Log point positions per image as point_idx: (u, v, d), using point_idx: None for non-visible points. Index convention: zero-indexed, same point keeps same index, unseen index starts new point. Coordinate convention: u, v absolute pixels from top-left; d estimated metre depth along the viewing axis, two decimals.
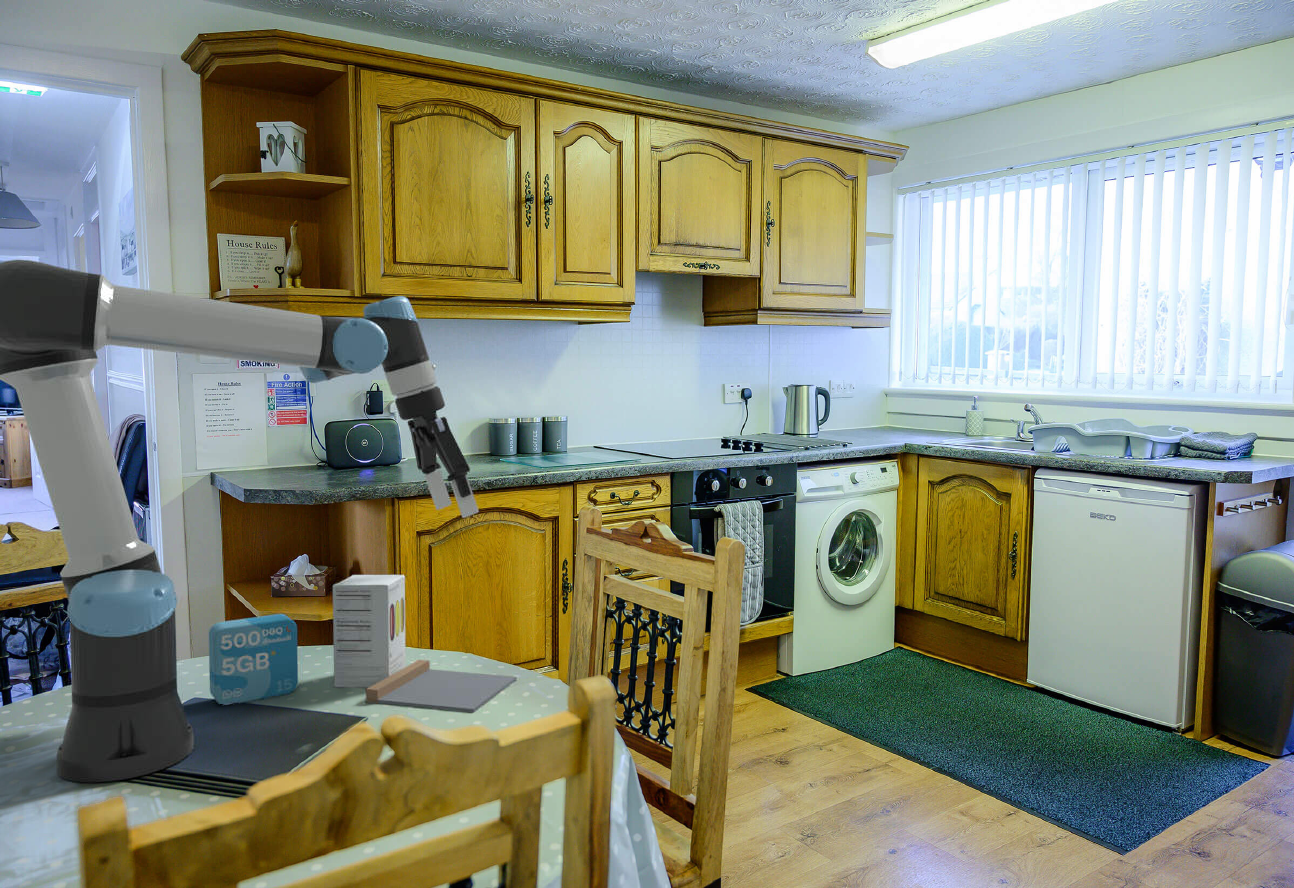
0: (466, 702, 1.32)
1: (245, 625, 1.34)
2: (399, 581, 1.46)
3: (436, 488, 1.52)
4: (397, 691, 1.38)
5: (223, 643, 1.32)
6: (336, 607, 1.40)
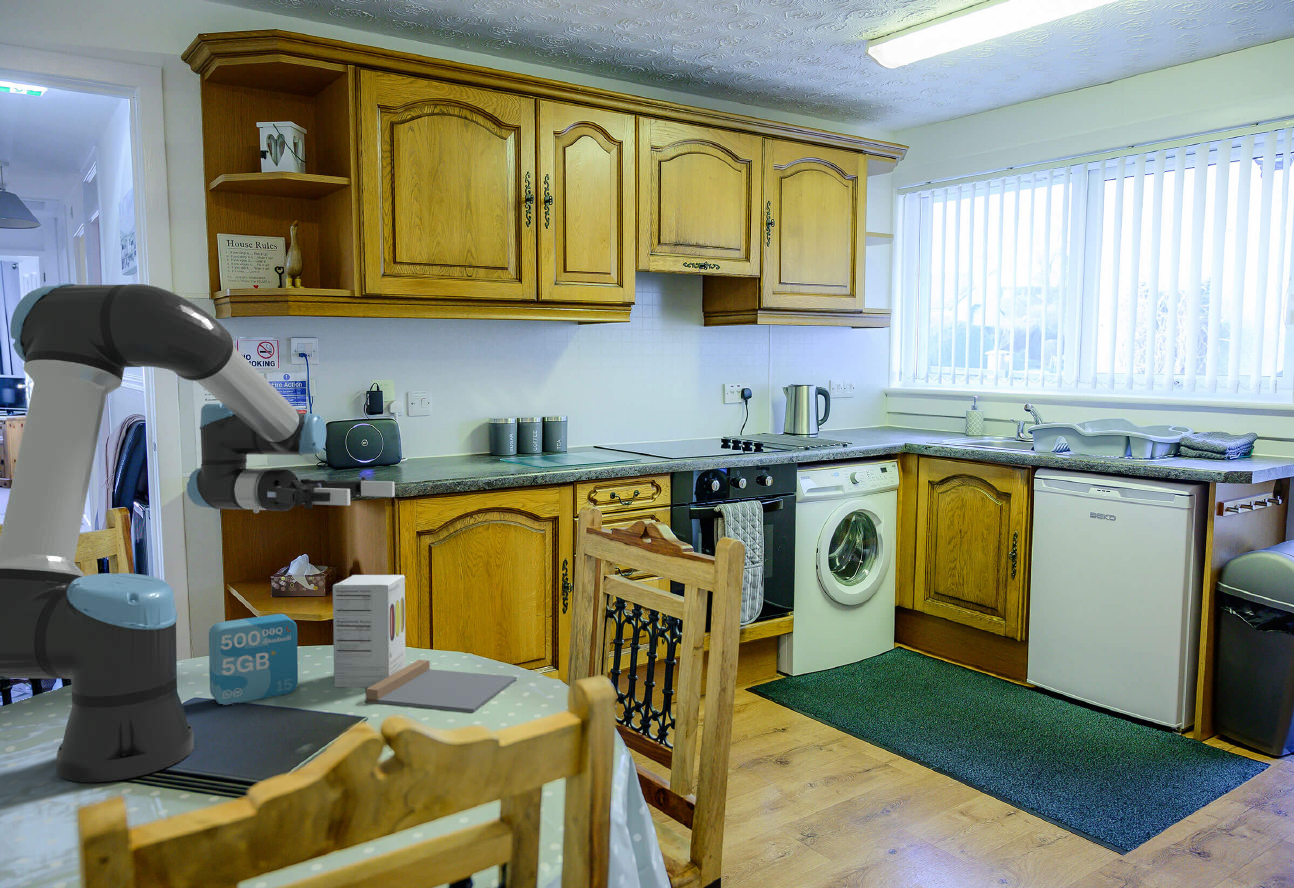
0: (466, 702, 1.32)
1: (245, 625, 1.34)
2: (399, 581, 1.46)
3: None
4: (397, 691, 1.38)
5: (223, 643, 1.32)
6: (336, 607, 1.40)
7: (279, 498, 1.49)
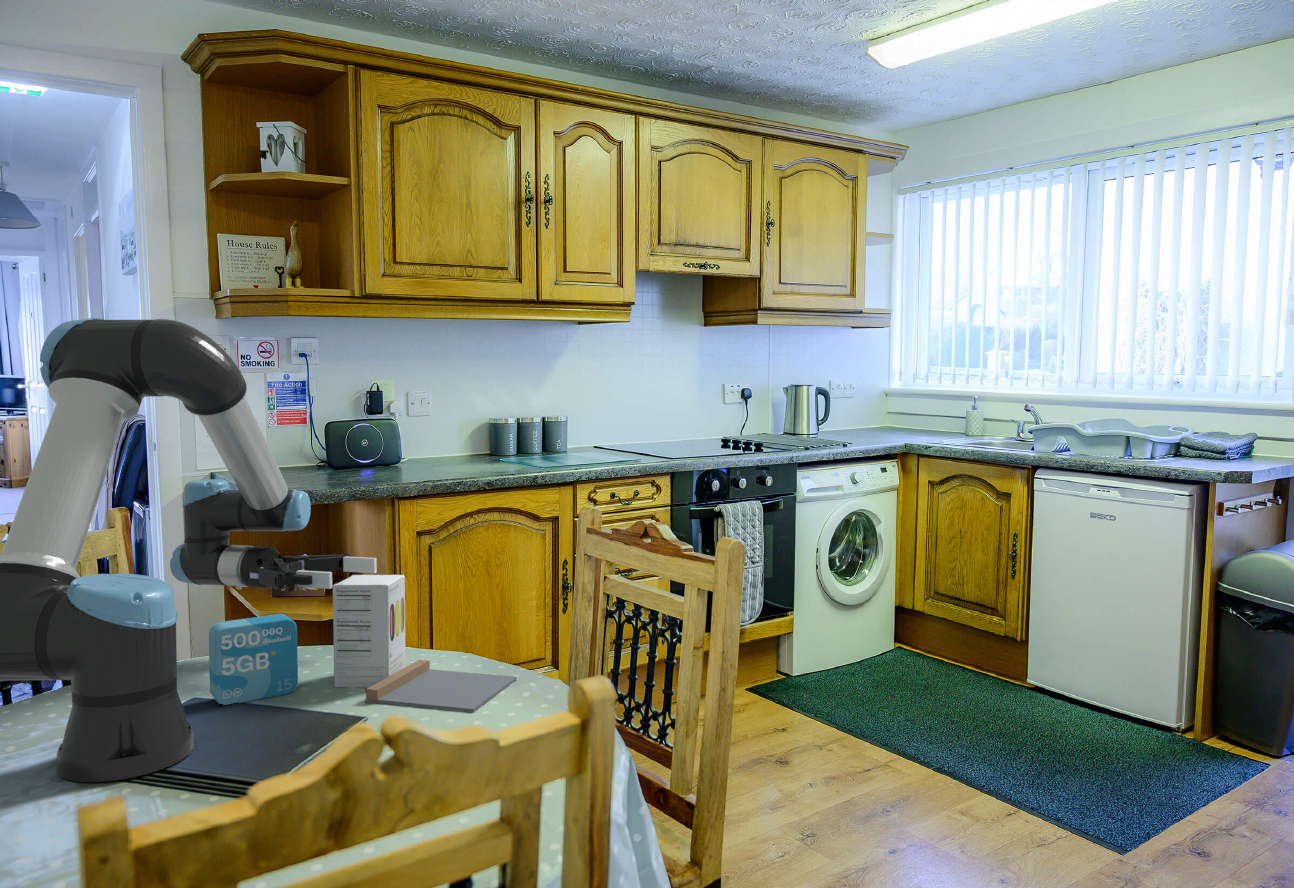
0: (466, 702, 1.32)
1: (245, 625, 1.34)
2: (399, 581, 1.46)
3: None
4: (397, 691, 1.38)
5: (223, 643, 1.32)
6: (336, 607, 1.40)
7: (262, 579, 1.50)
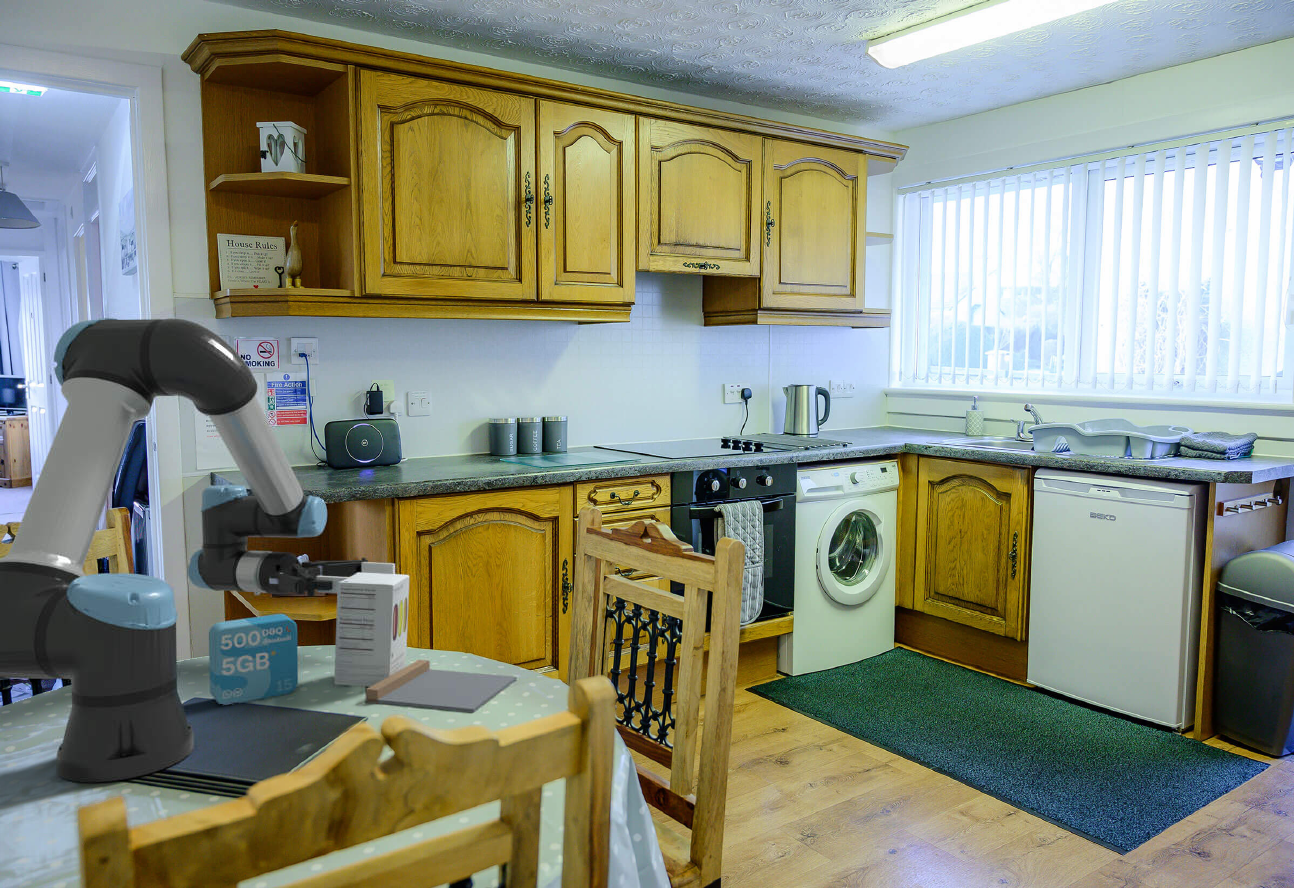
0: (466, 702, 1.32)
1: (245, 625, 1.34)
2: (403, 581, 1.46)
3: None
4: (397, 691, 1.38)
5: (223, 643, 1.32)
6: (340, 604, 1.40)
7: (282, 585, 1.50)
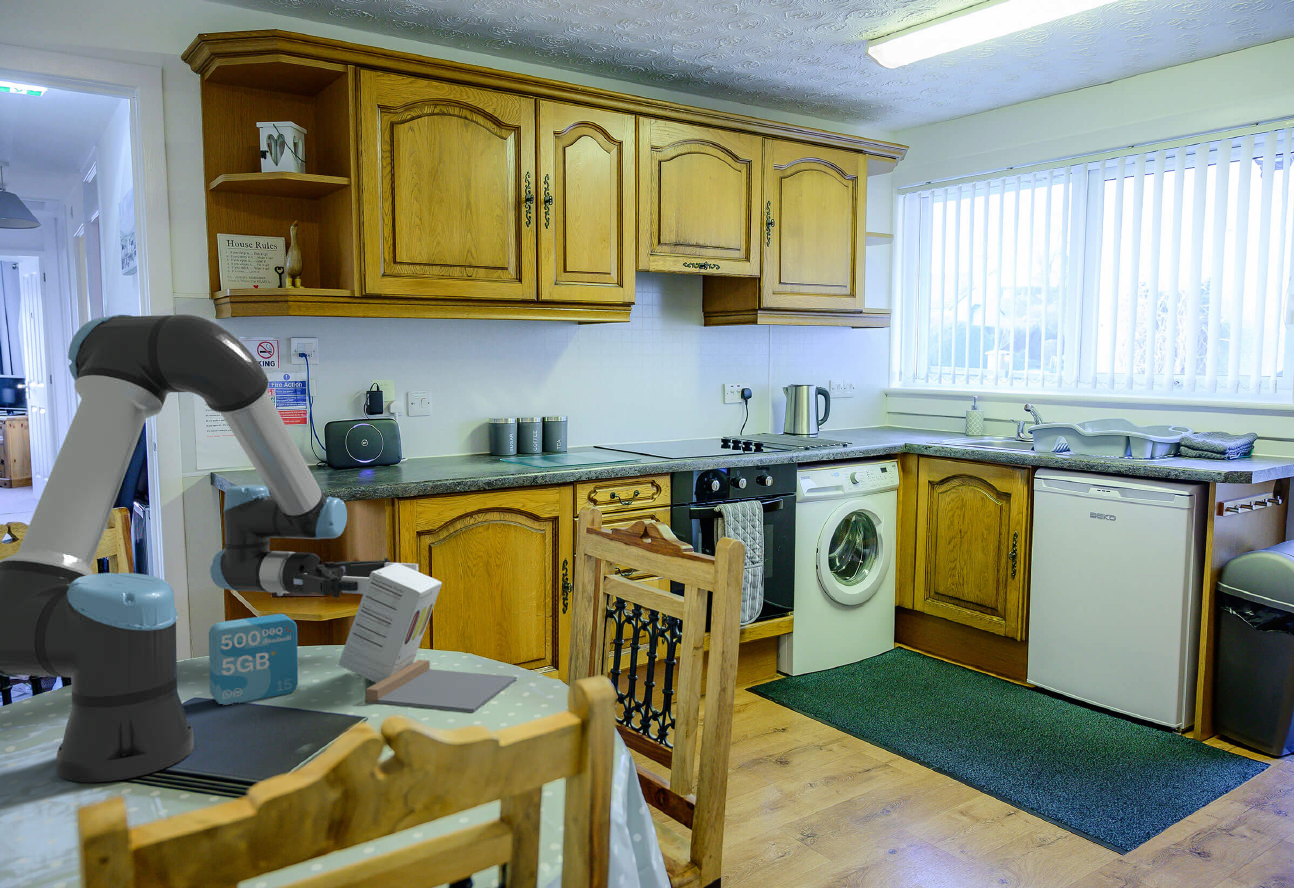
0: (466, 702, 1.32)
1: (245, 625, 1.34)
2: (434, 588, 1.45)
3: None
4: (397, 691, 1.38)
5: (223, 643, 1.32)
6: (366, 593, 1.41)
7: (306, 585, 1.50)
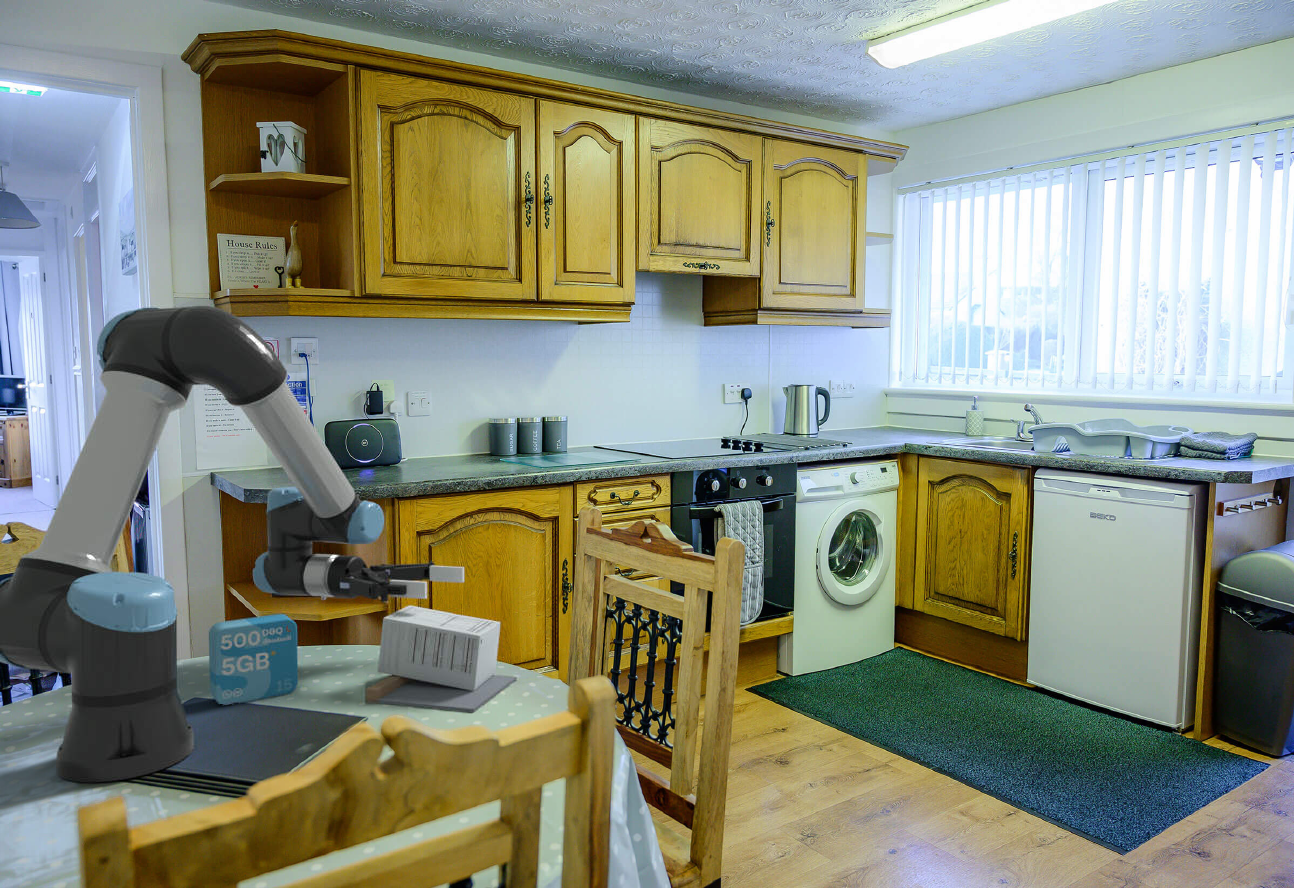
0: (466, 702, 1.32)
1: (245, 625, 1.34)
2: None
3: None
4: (397, 691, 1.38)
5: (223, 643, 1.32)
6: (457, 635, 1.38)
7: (354, 589, 1.47)
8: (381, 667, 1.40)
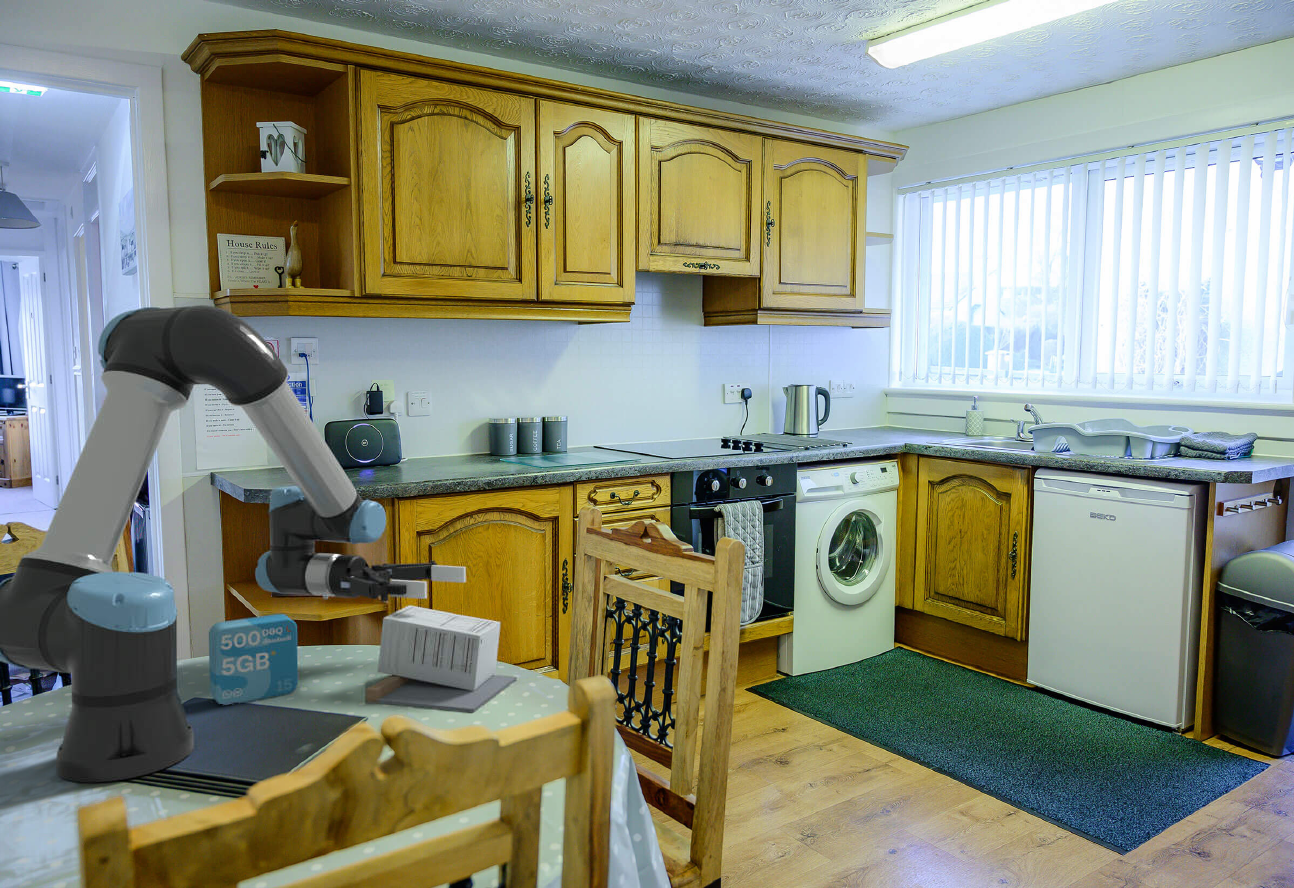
0: (466, 702, 1.32)
1: (245, 625, 1.34)
2: None
3: None
4: (397, 691, 1.38)
5: (223, 643, 1.32)
6: (457, 635, 1.38)
7: (354, 589, 1.46)
8: (381, 667, 1.40)
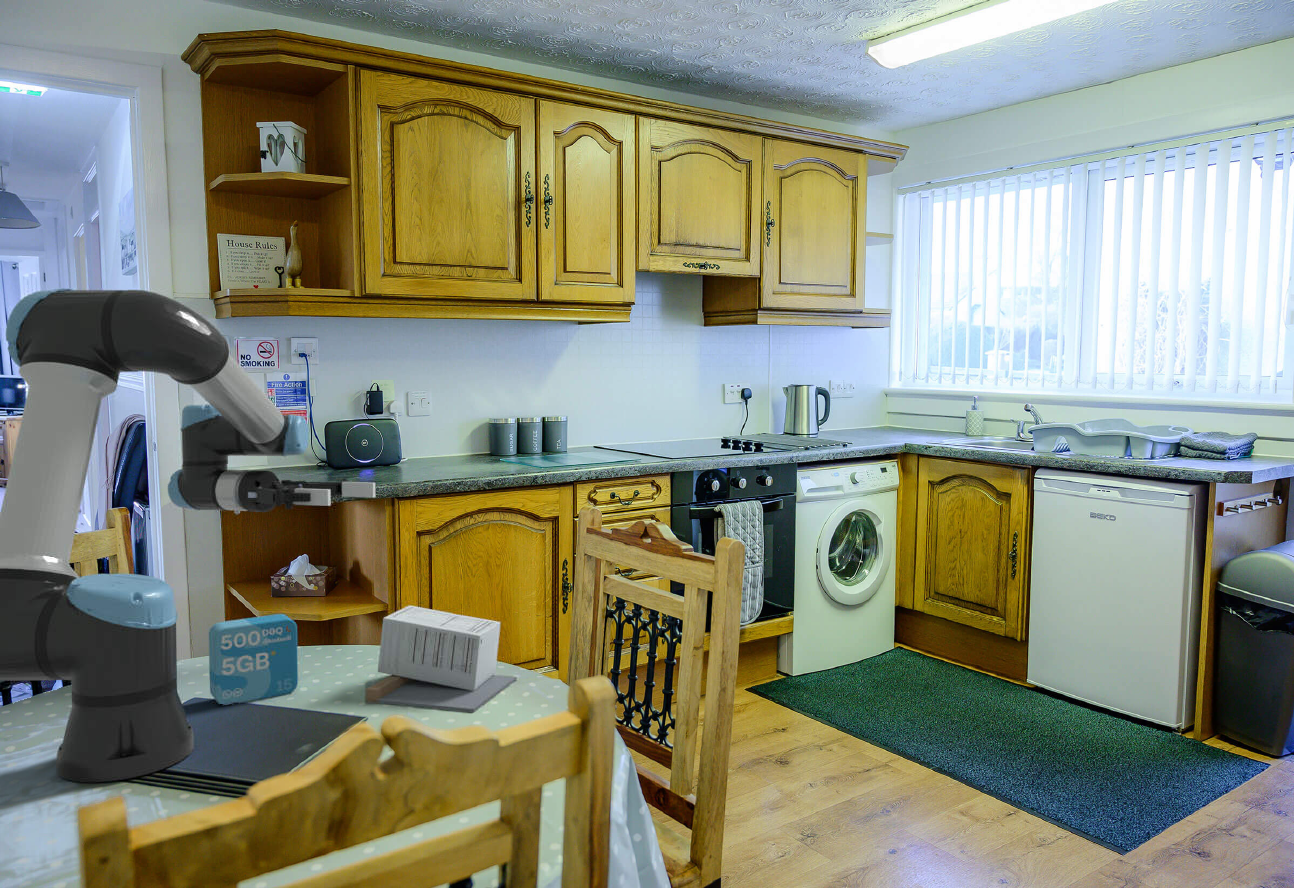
0: (466, 702, 1.32)
1: (245, 625, 1.34)
2: None
3: None
4: (397, 691, 1.38)
5: (223, 643, 1.32)
6: (457, 635, 1.38)
7: (260, 498, 1.50)
8: (381, 667, 1.40)
